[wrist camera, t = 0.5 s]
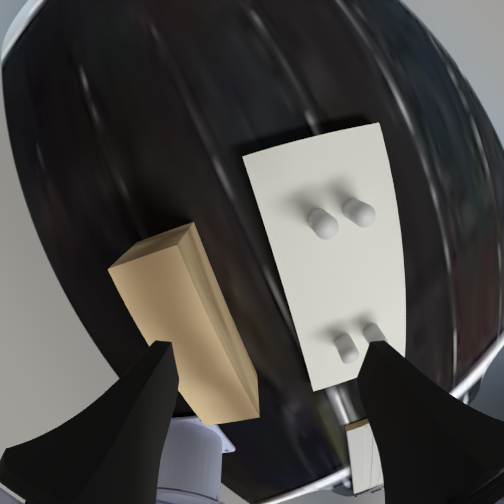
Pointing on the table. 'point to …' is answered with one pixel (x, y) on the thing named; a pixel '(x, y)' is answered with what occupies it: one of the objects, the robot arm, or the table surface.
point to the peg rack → (335, 245)
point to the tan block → (189, 322)
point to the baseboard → (363, 456)
